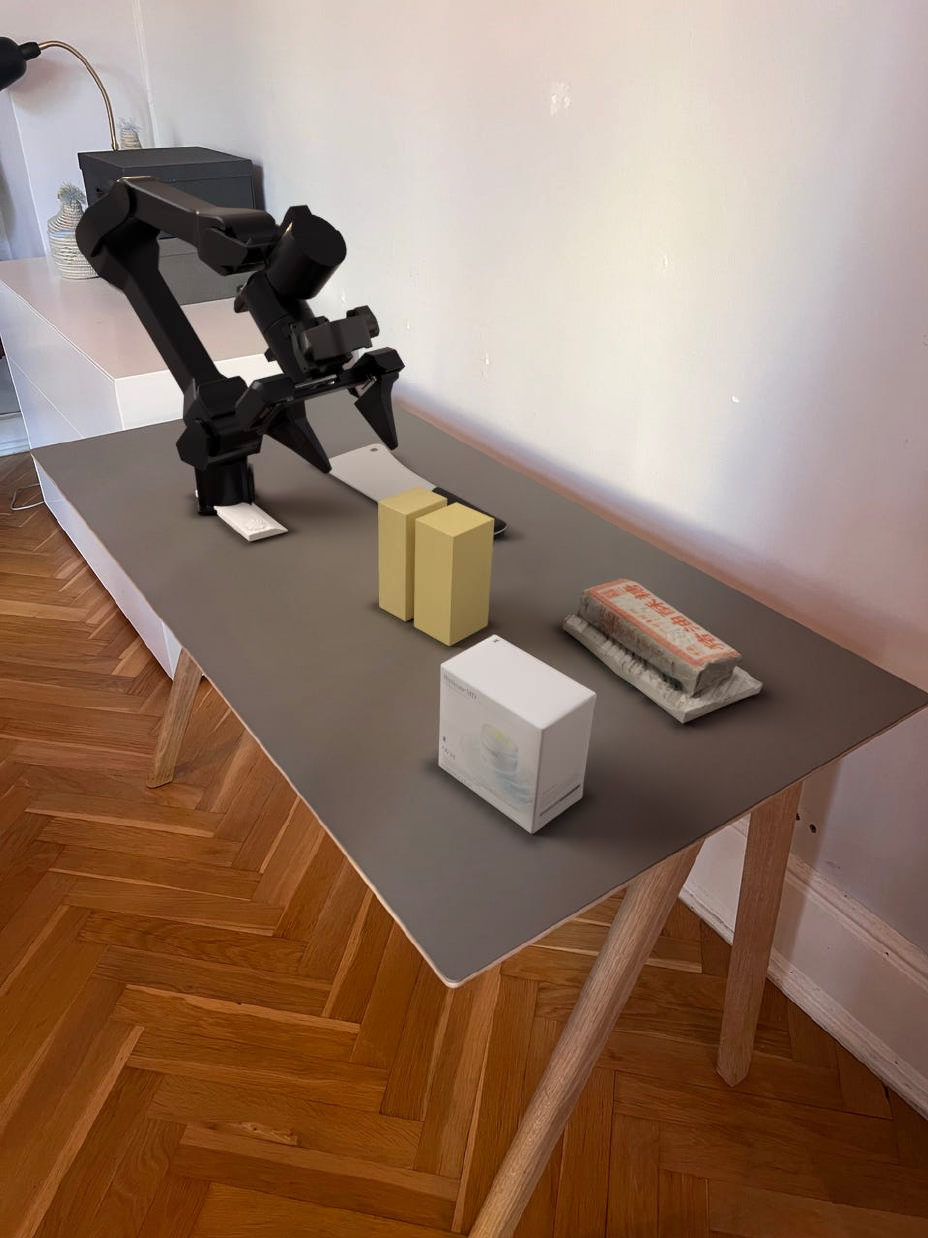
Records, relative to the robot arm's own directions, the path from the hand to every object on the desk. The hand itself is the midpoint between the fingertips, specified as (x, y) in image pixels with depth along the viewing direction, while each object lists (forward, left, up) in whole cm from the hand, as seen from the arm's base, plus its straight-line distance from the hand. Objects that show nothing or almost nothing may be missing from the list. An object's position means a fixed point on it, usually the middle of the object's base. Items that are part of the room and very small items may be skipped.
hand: (363, 459), depth 93 cm
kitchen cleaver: (+8, +20, -14) cm, 25 cm away
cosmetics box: (+8, -35, -14) cm, 38 cm away
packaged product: (+26, -20, -14) cm, 36 cm away
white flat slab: (-14, +17, -14) cm, 26 cm away
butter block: (+8, -12, -13) cm, 19 cm away
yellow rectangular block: (+4, -7, -13) cm, 16 cm away
